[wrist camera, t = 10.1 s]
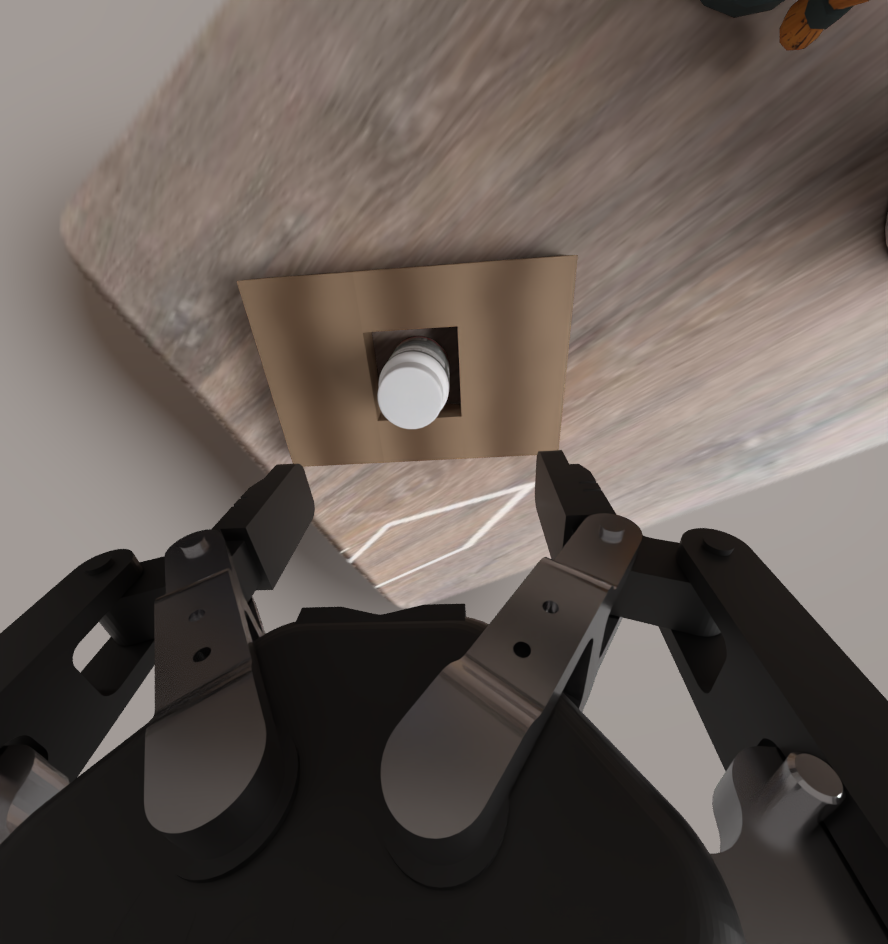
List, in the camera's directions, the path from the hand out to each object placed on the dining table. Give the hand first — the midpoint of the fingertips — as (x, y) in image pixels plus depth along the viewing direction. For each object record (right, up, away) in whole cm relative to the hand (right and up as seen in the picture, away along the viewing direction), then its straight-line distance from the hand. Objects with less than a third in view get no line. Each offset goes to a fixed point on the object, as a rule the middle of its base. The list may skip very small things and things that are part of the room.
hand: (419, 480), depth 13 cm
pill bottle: (-1, +9, +17) cm, 19 cm away
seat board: (-1, +9, +17) cm, 19 cm away
